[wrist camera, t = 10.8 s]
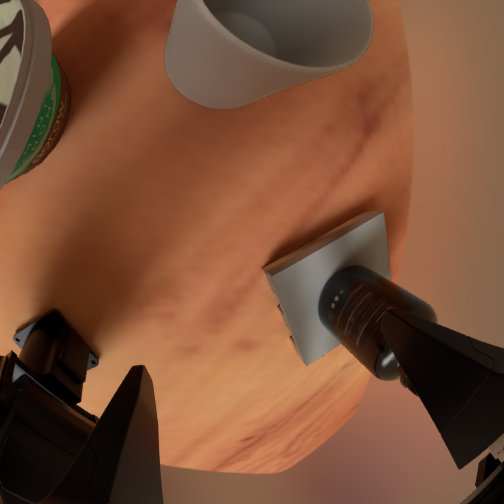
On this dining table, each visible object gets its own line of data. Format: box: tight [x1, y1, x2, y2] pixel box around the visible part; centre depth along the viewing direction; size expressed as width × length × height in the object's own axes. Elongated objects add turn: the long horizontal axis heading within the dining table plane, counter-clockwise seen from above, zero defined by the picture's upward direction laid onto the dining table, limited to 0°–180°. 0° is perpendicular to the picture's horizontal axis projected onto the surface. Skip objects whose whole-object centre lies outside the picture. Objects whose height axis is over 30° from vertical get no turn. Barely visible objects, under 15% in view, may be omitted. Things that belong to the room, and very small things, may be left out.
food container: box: [0, 0, 71, 190], centre depth 9 cm, size 12×6×10 cm, turn 161°
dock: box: [262, 209, 391, 366], centre depth 26 cm, size 12×12×2 cm
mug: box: [164, 0, 373, 109], centre depth 11 cm, size 12×8×11 cm
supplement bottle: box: [318, 265, 438, 397], centre depth 19 cm, size 7×7×12 cm
